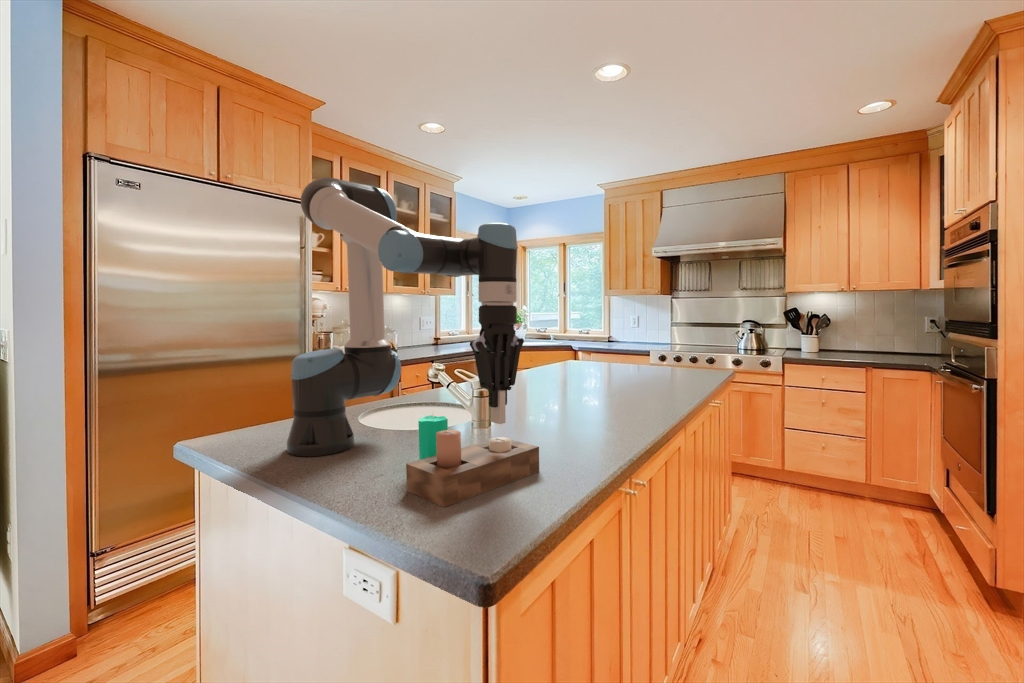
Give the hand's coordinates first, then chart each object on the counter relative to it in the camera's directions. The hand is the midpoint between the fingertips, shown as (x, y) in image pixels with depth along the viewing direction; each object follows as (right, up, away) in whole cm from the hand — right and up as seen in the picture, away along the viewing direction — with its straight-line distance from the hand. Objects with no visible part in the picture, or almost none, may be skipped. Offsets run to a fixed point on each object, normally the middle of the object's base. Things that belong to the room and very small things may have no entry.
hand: (498, 422), depth 97 cm
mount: (-4, -10, -4) cm, 12 cm away
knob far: (+1, -10, 0) cm, 10 cm away
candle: (-13, -10, +3) cm, 17 cm away
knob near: (-9, -7, -9) cm, 14 cm away
